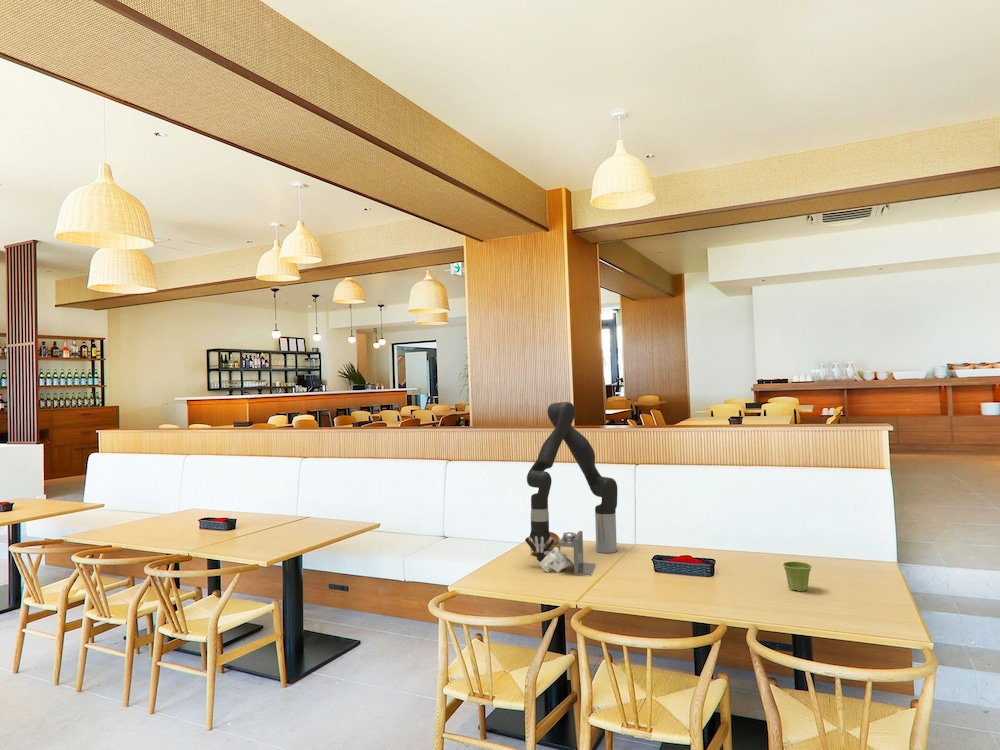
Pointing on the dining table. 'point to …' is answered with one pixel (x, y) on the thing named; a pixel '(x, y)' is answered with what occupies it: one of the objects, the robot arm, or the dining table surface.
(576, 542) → the bracket
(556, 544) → the burger
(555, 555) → the white irregular lump
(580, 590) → the dining table surface
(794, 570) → the plant pot
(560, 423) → the robot arm
